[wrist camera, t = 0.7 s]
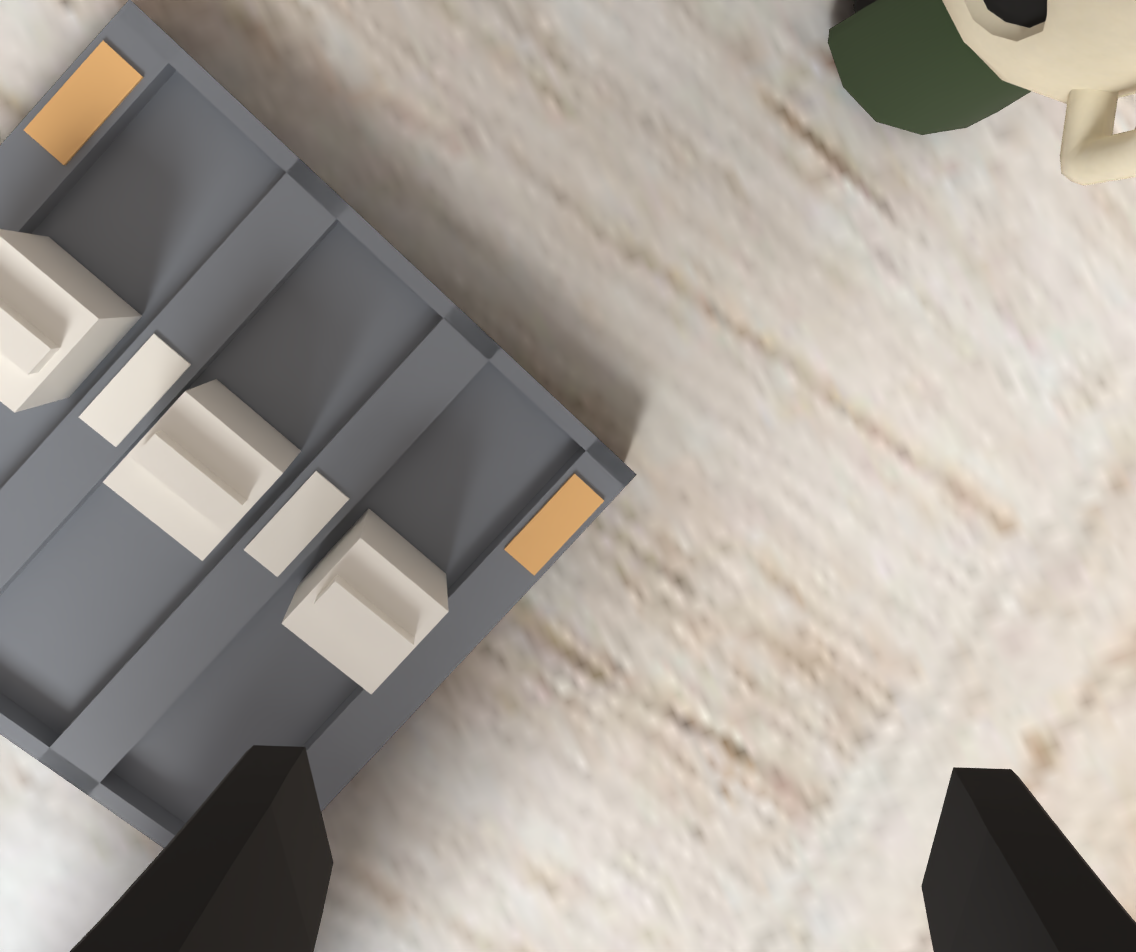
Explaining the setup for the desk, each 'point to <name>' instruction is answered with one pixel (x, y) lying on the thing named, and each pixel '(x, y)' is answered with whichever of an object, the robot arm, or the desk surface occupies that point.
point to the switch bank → (282, 398)
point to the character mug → (996, 68)
